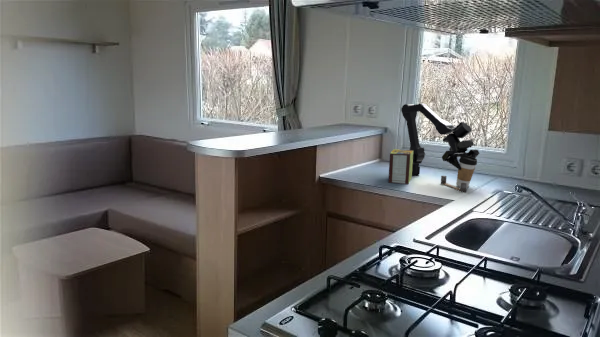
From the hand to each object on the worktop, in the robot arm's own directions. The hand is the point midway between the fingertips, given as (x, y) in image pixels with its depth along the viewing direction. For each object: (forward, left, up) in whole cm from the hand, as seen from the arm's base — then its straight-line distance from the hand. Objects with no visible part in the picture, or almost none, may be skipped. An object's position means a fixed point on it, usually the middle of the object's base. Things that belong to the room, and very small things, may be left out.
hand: (467, 169), depth 227 cm
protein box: (-32, +8, -10) cm, 34 cm away
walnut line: (-6, -1, -9) cm, 11 cm away
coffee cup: (-2, +2, -9) cm, 9 cm away
